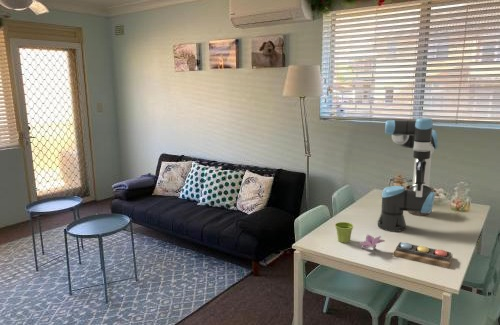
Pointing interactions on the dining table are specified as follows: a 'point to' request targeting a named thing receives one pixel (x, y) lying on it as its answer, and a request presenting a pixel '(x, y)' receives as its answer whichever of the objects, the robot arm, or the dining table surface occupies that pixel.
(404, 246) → the button blue
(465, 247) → the dining table surface
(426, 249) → the button ochre
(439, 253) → the button red
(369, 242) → the lily
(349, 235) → the plant pot
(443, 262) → the button panel
